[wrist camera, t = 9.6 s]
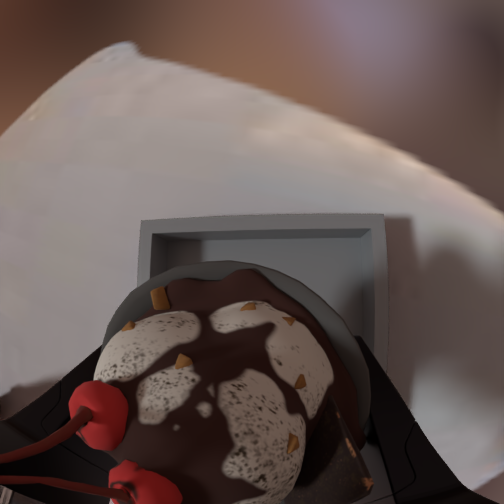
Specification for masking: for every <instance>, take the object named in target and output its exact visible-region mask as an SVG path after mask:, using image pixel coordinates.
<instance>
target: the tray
mask: <svg viewBox="0 0 504 504" xmlns="http://www.w3.org/2000/svg"><path fill="white" fill-rule="evenodd" d="M224 260H232V261H239V262H246V263H253V264H258V265H261V266H264V267H268V268H271V269H274V270H278V271H280V272H282V273H284V274H286V275H288V276H290V277H292V278H294V279H297V280H299V281H301V282H302V283H303V284H305V285H306V286H307V287H309V288H310V289H311V290H312V291H314V292H315V293H316V294H318V295H319V296H320V297H321V298H322V299H324V300H325V301H326V302H327V303H328V304H329V305H330V306H331V307H332V308H333V309H334V310H335V311H336V312H337V313H338V314H339V315H340V316H341V317H342V318H343V319H344V321H345V323H346V324H347V326H348V328H349V329H350V331H351V333H352V334H353V335H360V336H361V337H362V338H363V340H364V341H365V343H366V344H367V346H368V347H369V349H370V350H371V352H372V353H373V355H374V356H375V358H376V359H377V361H378V362H379V364H380V365H381V367H382V368H383V370H384V371H385V373H386V374H387V359H388V336H389V285H388V261H387V246H386V233H385V223H384V214H278V215H242V216H215V217H193V218H174V219H157V220H141V227H140V240H139V255H138V275H137V287H139V286H140V285H142V284H143V283H145V282H146V281H148V280H149V279H151V278H152V277H155V276H157V275H159V274H161V273H163V272H165V271H167V270H170V269H172V268H174V267H177V266H182V265H188V264H194V263H199V262H206V261H224Z"/></svg>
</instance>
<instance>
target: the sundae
mask: <svg viewBox="0 0 504 504" xmlns="http://www.w3.org/2000/svg"><path fill="white" fill-rule="evenodd" d="M370 402H371V389H370V377H369V369H368V367H367V364H366V362H365V359H364V357H363V354H362V352H361V349H360V347H359V344H358V343H357V341H356V339H355V338H354V336H353V334H352V333H351V331H350V329H349V328H348V326H347V324H346V323H345V321H344V319H343V318H342V317H341V316H340V315H339V314H338V313H337V312H336V311H335V310H334V309H333V308H332V307H331V306H330V305H329V304H328V303H327V302H326V301H325V300H324V299H322V298H321V297H320V296H319V295H318V294H316V293H315V292H314V291H312V290H311V289H310V288H309V287H307V286H306V285H305V284H303V283H302V282H301V281H299V280H297V279H294V278H292V277H290V276H288V275H286V274H284V273H282V272H280V271H278V270H274V269H271V268H268V267H264V266H261V265H258V264H253V263H246V262H239V261H232V260H224V261H206V262H199V263H194V264H188V265H182V266H177V267H174V268H172V269H170V270H167V271H165V272H163V273H161V274H159V275H157V276H155V277H152V278H151V279H149V280H148V281H146V282H145V283H143V284H142V285H140V286H139V287H137V288H136V289H134V290H133V291H132V292H130V294H129V295H128V296H127V297H126V299H125V300H124V301H123V302H122V304H121V305H120V306H119V308H118V309H117V310H116V312H115V314H114V315H113V317H112V319H111V321H110V323H109V325H108V327H107V330H106V334H105V337H104V340H103V344H102V348H101V353H100V358H99V361H98V363H97V366H96V370H95V374H94V381H89V382H84V383H83V384H81V385H80V386H78V387H77V388H76V389H75V391H74V392H73V394H72V396H71V398H70V401H69V410H70V416H71V420H70V421H69V422H68V423H67V424H66V425H65V426H63V427H62V428H60V429H59V430H57V431H56V432H54V433H53V434H51V435H50V436H48V437H46V438H45V439H43V440H41V441H39V442H37V443H34V444H31V445H29V446H26V447H23V448H20V449H17V450H14V451H11V452H8V453H5V454H0V464H2V463H9V462H13V461H17V460H20V459H24V458H27V457H30V456H33V455H36V454H39V453H41V452H44V451H46V450H48V449H50V448H52V447H54V446H56V445H58V444H59V443H61V442H63V441H65V440H67V439H68V438H70V437H72V435H73V434H74V433H75V432H76V434H77V435H78V436H79V437H80V438H81V439H82V440H83V441H84V442H85V443H86V444H87V445H88V446H89V447H91V448H93V449H98V450H102V451H104V452H106V453H108V454H109V455H110V456H112V457H113V458H114V459H115V460H116V461H117V462H118V465H117V466H115V467H114V468H113V469H111V470H110V473H109V488H103V487H98V486H93V485H89V484H85V483H78V482H71V481H67V480H63V479H59V478H53V477H36V476H1V475H0V484H34V483H42V484H46V485H50V486H54V487H58V488H63V489H67V490H72V491H78V492H83V493H88V494H94V495H99V496H104V497H108V498H111V499H112V501H113V503H114V504H352V503H354V502H357V501H359V500H361V499H363V498H365V497H366V496H368V495H370V493H371V491H372V488H373V485H374V482H373V480H372V478H371V475H370V473H369V471H368V468H367V466H366V464H365V462H364V459H363V457H362V455H361V453H360V451H361V450H362V448H363V447H364V446H365V444H366V435H365V433H364V430H365V427H366V424H367V421H368V418H369V413H370Z"/></svg>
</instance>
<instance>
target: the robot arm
mask: <svg viewBox="0 0 504 504" xmlns="http://www.w3.org/2000/svg"><path fill="white" fill-rule="evenodd" d="M353 336H354V338H355V339H356V341H357V343H358V344H359V347H360V349H361V352H362V354H363V357H364V359H365V362H366V364H367V367H368V369H369V377H370V389H371V402H370V413H369V418H368V421H367V424H366V427H365V430H364V433H365V435H366V444H365V446H364V447H363V448H362V450H361V451H360V453H361V455H362V457H363V459H364V462H365V464H366V466H367V468H368V471H369V473H370V475H371V478H372V480H373V482H374V485H373V488H372V491H371V493H370V495H368V496H366V497H365V498H363V499H361V500H359V501H357V502H354V503H352V504H499V503H497V502H494V501H492V500H490V499H488V498H486V497H483V496H482V495H479V494H477V493H475V492H473V491H471V490H470V489H468V488H467V487H465V486H464V485H463V484H462V483H461V482H460V481H459V480H458V478H457V477H456V476H455V475H454V473H453V472H452V471H451V469H450V468H449V467H448V466H447V464H446V463H445V462H444V461H443V459H442V458H441V457H440V455H439V454H438V453H437V451H436V450H435V449H434V447H433V446H432V445H431V443H430V442H429V440H428V439H427V437H426V436H425V434H424V433H423V431H422V430H421V428H420V426H419V425H418V423H417V422H416V421H415V418H414V417H413V415H412V413H411V412H410V410H409V409H408V407H407V405H406V404H405V402H404V401H403V399H402V397H401V396H400V394H399V393H398V391H397V390H396V388H395V387H394V385H393V383H392V382H391V380H390V379H389V377H388V376H387V374H386V373H385V371H384V370H383V368H382V367H381V365H380V364H379V362H378V361H377V359H376V358H375V356H374V355H373V353H372V352H371V350H370V349H369V347H368V346H367V344H366V343H365V341H364V340H363V338H362V337H361V336H360V335H353ZM101 348H102V345H101V346H100V347H99V348H98V349H96V350H95V351H94V352H93V353H92V354H90V355H89V356H88V357H87V358H86V359H85V360H83V361H82V362H81V363H80V364H79V365H77V366H76V367H75V368H74V369H73V370H72V371H70V372H69V373H68V374H67V375H66V376H65V377H63V378H62V379H61V380H60V381H59V382H57V383H56V384H55V385H54V386H53V387H52V388H50V389H49V390H48V391H47V392H45V393H44V394H43V395H42V396H40V397H39V398H38V399H36V400H35V401H34V402H32V403H31V404H29V405H28V406H26V407H25V408H24V409H22V410H21V411H19V412H18V413H17V414H15V415H14V416H12V417H10V418H8V419H6V420H2V421H0V454H5V453H8V452H11V451H14V450H17V449H20V448H23V447H26V446H29V445H31V444H34V443H37V442H39V441H41V440H43V439H45V438H46V437H48V436H50V435H51V434H53V433H54V432H56V431H57V430H59V429H60V428H62V427H63V426H65V425H66V424H67V423H68V422H69V421H70V420H71V416H70V410H69V401H70V398H71V396H72V394H73V392H74V391H75V389H76V388H77V387H78V386H80V385H81V384H83V383H84V382H89V381H94V374H95V370H96V366H97V363H98V361H99V358H100V353H101ZM117 465H118V462H117V461H116V460H115V459H114V458H113V457H112V456H110V455H109V454H108V453H106V452H104V451H102V450H98V449H93V448H91V447H89V446H88V445H87V444H86V443H85V442H84V441H83V440H82V439H81V438H80V437H79V436H78V435H77V434H76V432H75V433H74V434H73V435H72V437H70V438H68V439H67V440H65V441H63V442H61V443H59V444H58V445H56V446H54V447H52V448H50V449H48V450H46V451H44V452H41V453H39V454H36V455H33V456H30V457H27V458H24V459H20V460H17V461H13V462H9V463H2V464H0V475H1V476H36V477H53V478H59V479H63V480H67V481H71V482H78V483H85V484H89V485H93V486H98V487H103V488H109V473H110V470H111V469H113V468H114V467H115V466H117ZM109 502H110V498H108V497H104V496H99V495H94V494H88V493H83V492H78V491H72V490H67V489H63V488H58V487H54V486H50V485H46V484H42V483H34V484H0V504H109Z"/></svg>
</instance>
